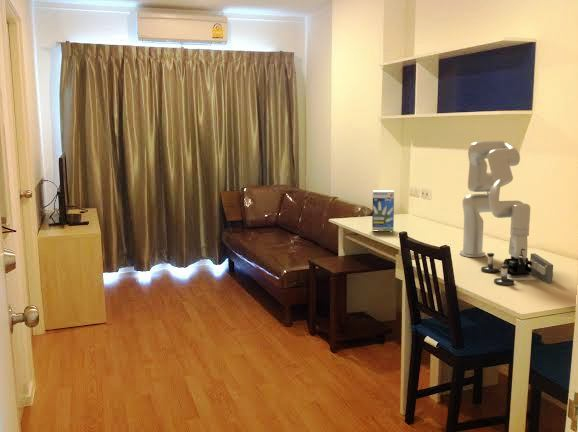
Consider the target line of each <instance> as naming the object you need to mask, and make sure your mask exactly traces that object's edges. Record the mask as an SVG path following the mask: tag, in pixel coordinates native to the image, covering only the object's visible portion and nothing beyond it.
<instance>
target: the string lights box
mask: <svg viewBox="0 0 578 432" xmlns="http://www.w3.org/2000/svg"><path fill="white" fill-rule="evenodd" d="M394 215H395V190H386V189H384V190H383V189H382V190H381V189H380V190H379V189H378V190H377V189H373V191H372V215H371V216H372V217H371V219H372V222H371V223H372V224H371V225H372V227H371V229H372V230H378V231H393V232H394V230H395V229H394V223H395V221H394V220H395V219H394V218H395V217H394Z"/></svg>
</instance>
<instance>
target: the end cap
mask: <svg viewBox="0 0 578 432" xmlns="http://www.w3.org/2000/svg"><path fill="white" fill-rule="evenodd" d="M520 261H521V259H520ZM502 264H506V265H509V266H508V270H507V274H509V275H511V276H523V275H531V276H532V272H531V271H532V268H530V265H531V266H532V262H531V261H530V260H529V257H527V259H526V264H525V273H517V265H518V258H512V259H511V258H505V259H504V260H503V263H502Z"/></svg>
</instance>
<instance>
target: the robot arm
mask: <svg viewBox="0 0 578 432" xmlns="http://www.w3.org/2000/svg"><path fill="white" fill-rule="evenodd" d="M467 150H468V151H467V155H468V156H467V157H468V161H469V165H468V167H469V168H468V174H467V175H468V176H467V188H468V191H470V192H472V193H473V194H468V195H465V196H464V197H463V199H462V208H463V235H462V236H463V238H462V239H463V240H462V242H463V243H462V250H460V251H459V255H461V256H463V257H467V258H483V257H485V256H486V252H485V251H483V244H484V243H483V242H484V220H483V217H482V216H481V214H480V213H491V214H492V215H493V216H494V217H495V218H498V219H504V218H507V219H508V218H510V238H509V247H508V254H509V255H510V259H512V258H518V265H517V273H525V264H526V259H527V258H528V236H530V222H531V221H530V220H531V205H530V204H528V203H525V202H524V203H523V201H521V200H500V194H501V193H500V192H501V188H502V187H504V186H507V185H508V184H510V183H511V182H513V179H514V176H513V173H512V170H511V167H515V166H518V165H519V163H520V161H521V156H520V152H519V151H518V150H517V148H515V147H514V146H513V145H511V144H510V143H508V142H507V141H504V140H480V141H479V140H478V141H474V142H472V143H471V144H470V145H469V147H468V149H467ZM486 159H487V160H486ZM487 161H488V163H487ZM488 165H489V169H490V172H488ZM520 259H521V261H520Z"/></svg>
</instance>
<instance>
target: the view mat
mask: <svg viewBox="0 0 578 432" xmlns="http://www.w3.org/2000/svg"><path fill="white" fill-rule="evenodd" d="M499 274H500V275H501V272H499ZM507 278H508V279H511V280H513V281H526V280H527V281H533V280H534V281H536V280H537V279H536V278H535V277H534V276H532V274H531V275H523V276H511V275H509V274H507Z"/></svg>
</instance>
